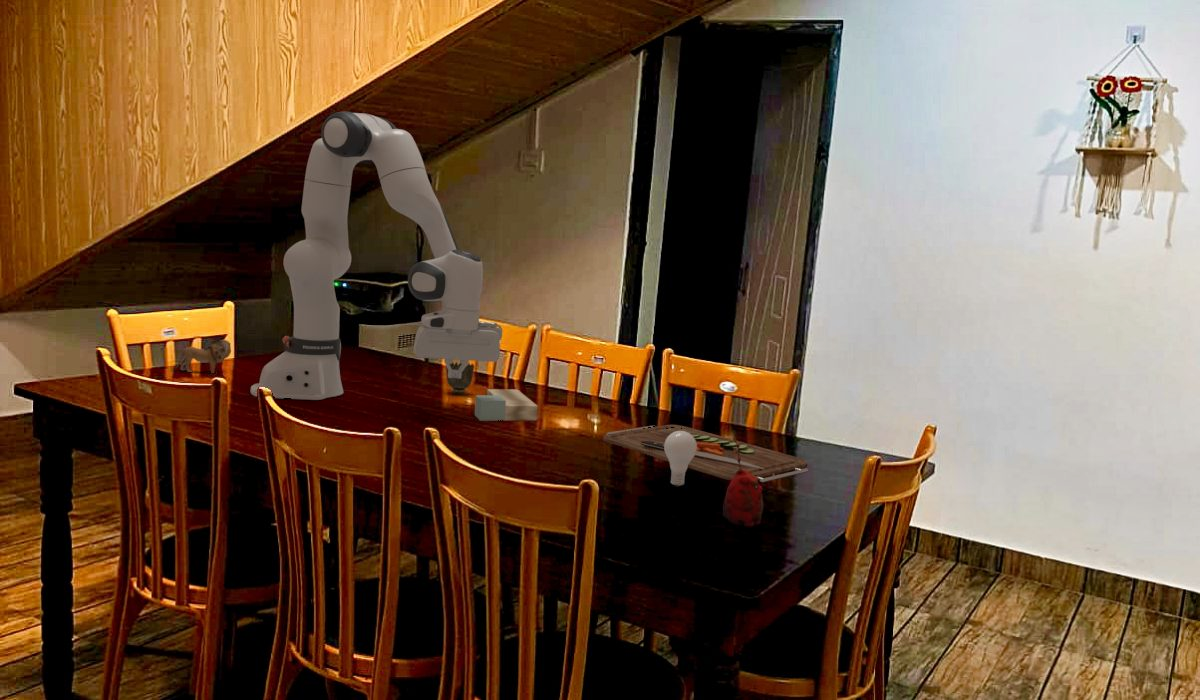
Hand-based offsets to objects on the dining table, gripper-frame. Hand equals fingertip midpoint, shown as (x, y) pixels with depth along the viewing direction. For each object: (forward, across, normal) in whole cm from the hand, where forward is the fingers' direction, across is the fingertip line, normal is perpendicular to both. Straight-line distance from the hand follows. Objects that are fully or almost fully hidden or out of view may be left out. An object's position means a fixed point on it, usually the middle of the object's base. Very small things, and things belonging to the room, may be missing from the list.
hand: (454, 377), depth 245 cm
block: (+9, -9, 0) cm, 13 cm away
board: (+9, -16, -7) cm, 20 cm away
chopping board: (+8, -51, +34) cm, 61 cm away
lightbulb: (+7, -34, +59) cm, 68 cm away
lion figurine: (+13, +57, -53) cm, 79 cm away
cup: (+10, -7, -28) cm, 30 cm away
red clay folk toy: (+7, -37, +81) cm, 89 cm away
